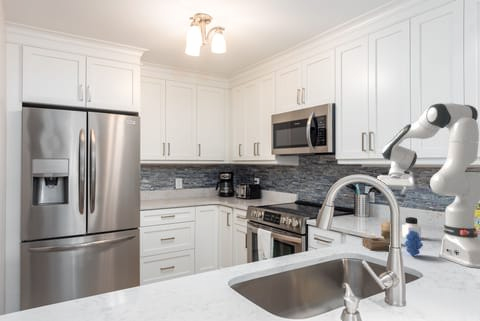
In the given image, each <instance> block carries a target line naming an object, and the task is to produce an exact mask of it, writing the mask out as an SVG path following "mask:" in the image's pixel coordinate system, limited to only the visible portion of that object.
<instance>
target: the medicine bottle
mask: <svg viewBox="0 0 480 321" xmlns="http://www.w3.org/2000/svg"><path fill="white" fill-rule="evenodd" d="M401 226H402V227H401V228H402V230H401V231H402V232H401V234H402V235H401V236H402V237H403V238H405V239H406V240H407V238H406V235H407V234H409V231H411V230H413V231H416V232H417V233H418V234H419V236H418V237H420V238H421V239H422V228H421V226H418V218H416V217H413V216H407V217H405V224H402V225H401Z"/></svg>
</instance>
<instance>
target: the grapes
mask: <svg viewBox="0 0 480 321" xmlns="http://www.w3.org/2000/svg"><path fill="white" fill-rule="evenodd" d="M418 236H419V234H418V233H417V232H416V231H413V230H411V231H409V234H407V235H406V238H407V239H406V238H405V239H406V241H404V244H405V246H406V248H405V249H406V251H407V253H408V254H410V256H411V257H415V256H417V255H419V254H420V253H421V252H420V250H421V249H422V247H423V246H424V244H423V243H422V237H421V238H420V237H418Z"/></svg>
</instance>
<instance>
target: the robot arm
mask: <svg viewBox="0 0 480 321" xmlns="http://www.w3.org/2000/svg"><path fill="white" fill-rule="evenodd" d="M478 118H479V113H478V110H477V108H476V107H474V106H472V105H470V104H459V103H455V102H454V103H452V102H451V103H450V102H449V103H447V102H446V103H441V102H439V103H434V104H432V105H430V106H429V107H428V108H427V109H426V110H425V111H424V112H422V114H421V115H420V117H419V118H418V119H417V120H416V121H414V122H413V123H410V124H406V125H405V126H404V127H403V128H402V129H401V130H400V131H398V133H397V134H396V135H395V136H394V137H393V138H392V139H391V140H390V141H389V142H388V143H387V144H386V145H384V147H383V149H382V150H381V155H382V156H383V158H384V160H388V161H391V163H390V164H391V165H390V168H389V171H388V174H380V175H378V176H377V177H376V178H377V179H379V180H381V181H382V182H384V183H385V184H386V185H387V186H388V187H389V188H388V189H391V190H394V189H395V190H400V191H399V192H400V195H402V196H403V195H405V193H406V192H407V191H409V190H411V191H413V190H414V189H415V184H416V183H415V178H414V173H413V172H412V171H409V169H411V168H412V167H414V166H415V165H416V162H417V159H418V154H417V152H416V151H414V150H412V149H409V148H407V147H404V146H402V145H401V144H402V143H403V142H404V141H405V140H406V139H421V140H425V139H430V138H433V137H435V135H436V134H438V132H439V131H440V129H444V128H447V129H448V132H449V136H448V147H447V155H446V158H445V161H444V164H443V165H442V166H441V168H440V169H439V170H438V172H436V173H435V174H433V175H432V176H431V177H430V180H429V186H430V188H431V191H432V192H433V193H434V194H437V195H440V196H445V197H448V196H449V197H455V198H454V200H453V201H452V202H451V203H450V204H449V205H447V206H446V208H445V210H444V211H445V213H444V216H445V217H444V225H443V232H444V235H443V238H442V240H441V249H440V253H439V254H438V258H442V259H444V260H447V261H450V262H453V263H457V264H459V265H462V266H465V267H470V268H479V269H480V239H479V235H480V231H479V230H477V229H476V226H475V224H476V223H475V222H476V221H475V220H476V217H475V216H476V210H477V207H478V204H479V202H480V173H478V172H474V171H473V172H471V171H469V172H468V171H467V172H466V170H467V168H468V167H469V166H470V165H471V164H473V163H475V162H476V161H477V159H478V153H479V151H478V150H479V140H480V138H479V136H480V133H479V132H480V131H479V130H480V129H479V123H478V121H477V120H478ZM377 179H376V180H377Z"/></svg>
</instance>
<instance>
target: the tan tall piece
mask: <svg viewBox="0 0 480 321" xmlns="http://www.w3.org/2000/svg"><path fill="white" fill-rule="evenodd" d="M390 223H391V222H388V221H382V222H381V223H380V224H381V225H380V226H381V228H380V233H381V234H380V235H381V237H382V238H383V239H385V240H387V241H389V242H391V237H390Z"/></svg>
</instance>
